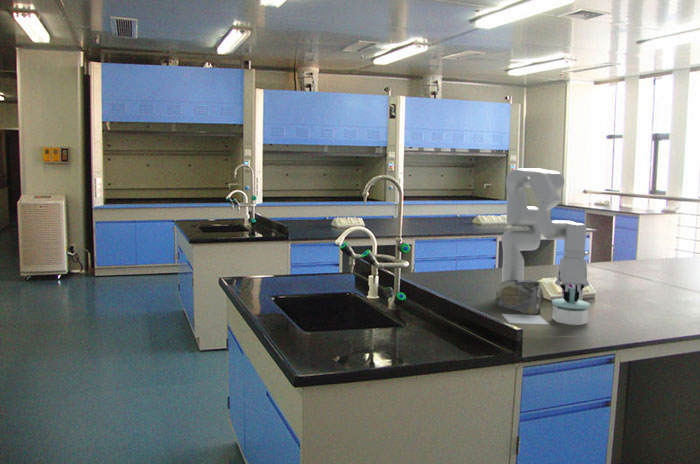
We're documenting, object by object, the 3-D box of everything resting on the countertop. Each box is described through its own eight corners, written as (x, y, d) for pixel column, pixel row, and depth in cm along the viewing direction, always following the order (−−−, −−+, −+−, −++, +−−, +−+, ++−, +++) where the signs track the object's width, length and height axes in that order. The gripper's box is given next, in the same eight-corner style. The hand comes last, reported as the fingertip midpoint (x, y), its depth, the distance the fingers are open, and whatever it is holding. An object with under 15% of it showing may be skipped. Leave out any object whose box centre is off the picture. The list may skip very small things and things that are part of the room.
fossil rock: (495, 314, 250) (493, 280, 252) (510, 313, 255) (508, 279, 257) (532, 315, 233) (529, 278, 235) (547, 314, 238) (545, 277, 240)
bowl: (549, 317, 233) (550, 303, 233) (579, 318, 233) (580, 304, 232) (559, 324, 221) (560, 310, 221) (590, 325, 221) (591, 311, 220)
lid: (547, 299, 234) (548, 284, 233) (582, 301, 233) (583, 285, 233) (558, 308, 220) (559, 291, 219) (595, 309, 219) (597, 292, 219)
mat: (501, 314, 235) (501, 313, 235) (538, 316, 234) (538, 315, 234) (509, 324, 221) (509, 322, 221) (549, 325, 221) (549, 324, 221)
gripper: (591, 254, 228) (588, 299, 230) (549, 252, 228) (547, 298, 230) (598, 256, 221) (595, 304, 222) (555, 255, 221) (552, 302, 223)
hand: (570, 300), depth 226 cm, fingers closed on lid, 2 cm apart
